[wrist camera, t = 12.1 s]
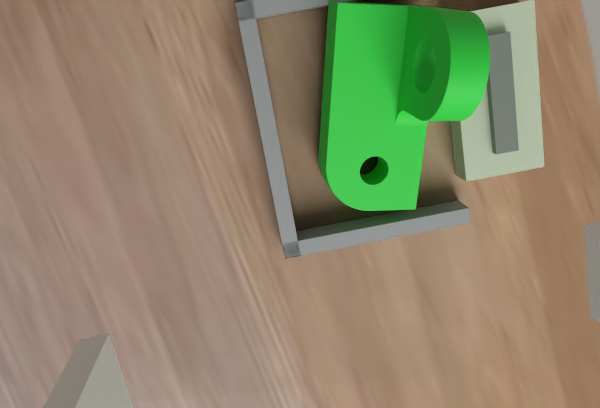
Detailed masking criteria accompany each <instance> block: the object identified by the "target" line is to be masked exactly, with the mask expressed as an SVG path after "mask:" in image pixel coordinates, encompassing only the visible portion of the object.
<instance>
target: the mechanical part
mask: <svg viewBox="0 0 600 408" xmlns="http://www.w3.org/2000/svg"><path fill="white" fill-rule="evenodd" d="M489 69H490V46H489V39H488V35H487V31H486V28H485V26H484V24H483V22H482V20H481V19H480V17H479V16H478V15H477V14H475V13H473V12H470V11H462V10H455V9H447V8H440V7H433V6H420V5H398V4H377V3H356V2H335V1H329V3H328V18H327V33H326V49H325V64H324V79H323V94H322V110H321V125H320V140H319V156H318V161H319V168H320V171H321V174H322V176H323V178H324V180H325V182H326V183H327V185H328V186H329V187H330V189H331V190H332V192H333V193H334V194H335V196H336V197H337V198H338V199H339V200H340V201H341V202H343V203H344V204H346V205H347V206H349V207H351V208H354V209H358V210H363V211H383V210H416V204H417V196H418V189H419V182H420V174H421V167H422V159H423V152H424V144H425V137H426V130H427V123H428V121H463V120H466V119H467V118H469V117H470V116H471V115H472V114H473V113H474V112H475V110H476V109H477V107H478V106H479V104H480V102H481V100H482V97H483V95H484V92H485V89H486V85H487V81H488V77H489ZM375 156H377V157H378V162H377V165H376V167H375V169H374V170H373V171H371V172H370V173H368V174H360V168H361V166H362V164H363V163H364V161H365V160H367V159H368V158H370V157H375Z"/></svg>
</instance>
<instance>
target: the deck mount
mask: <svg viewBox="0 0 600 408" xmlns="http://www.w3.org/2000/svg"><path fill="white" fill-rule="evenodd" d="M329 1H335V2H356V1H361V0H247V1H241V2H236V3H235V7H236V12H237V17H238V22H239V27H240V32H241V37H242V42H243V47H244V52H245V57H246V63H247V68H248V73H249V78H250V83H251V88H252V93H253V98H254V103H255V108H256V114H257V119H258V124H259V129H260V134H261V139H262V144H263V149H264V154H265V159H266V164H267V170H268V175H269V180H270V185H271V190H272V195H273V200H274V205H275V210H276V215H277V220H278V226H279V231H280V236H281V241H282V246H283V251H284V256H285V259H286V258H292V257H297V256H302V255H307V254H312V253H318V252H323V251H328V250H333V249H338V248H343V247H349V246H354V245H359V244H364V243H369V242H374V241H380V240H385V239H390V238H395V237H400V236H406V235H411V234H416V233H421V232H426V231H431V230H437V229H442V228H447V227H452V226H457V225H462V224H468V223H470V213H469V208H468V207H467V206H466V205H464V204H463V203H462V202H460V201H459V200H456V201H450V202H445V203H440V204H435V205H430V206H424V207H419V208H416V210H404V211H398V212H393V213H388V214H383V215H378V216H372V217H367V218H362V219H357V220H352V221H346V222H341V223H336V224H331V225H325V226H320V227H315V228H310V229H305V230H299V231H296V229H295V223H294V218H293V213H292V207H291V202H290V197H289V191H288V186H287V181H286V175H285V170H284V165H283V160H282V154H281V149H280V144H279V138H278V133H277V128H276V122H275V117H274V112H273V106H272V101H271V96H270V90H269V85H268V80H267V74H266V69H265V64H264V59H263V53H262V48H261V43H260V37H259V32H258V27H257V21H256V20H257V19H262V18H268V17H273V16H279V15H284V14H290V13H295V12H301V11H306V10H312V9H317V8H323V7H328V3H329ZM470 12H473V13H475V14H477V15H478V16H479V17H480V19H481V20H482V22H483V24H484V26H485V28H486V31H487V35H488V39H489V46H490V69H489V77H488V81H487V85H486V89H485V92H484V95H483V97H482V100H481V102H480V104H479V106H478V107H477V109H476V110H475V112H474V113H473V114H472V115H471V116H470V117H469V118H467V119H466V120H463V121H450V126H451V135H452V145H453V155H454V164H455V174H456V175H457V176H458V177H460V178H462V179H463V180H465V181H466V182H467V181H472V180H477V179H482V178H488V177H493V176H498V175H503V174H508V173H514V172H519V171H524V170H529V169H535V168H540V167H544V152H543V136H542V119H541V103H540V86H539V70H538V53H537V37H536V20H535V4H534V0H530V1H524V2H518V3H513V4H507V5H502V6H496V7H491V8H485V9H480V10H475V11H470Z"/></svg>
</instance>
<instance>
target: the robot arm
mask: <svg viewBox="0 0 600 408" xmlns="http://www.w3.org/2000/svg"><path fill="white" fill-rule="evenodd" d="M585 242H586V259H587V275H588V291H589V307H590V315H591V316H592V317H593V318H594V319H596V320H597V321H598V322H600V222H598V223H593V224H589V225H585ZM43 408H133V406H132V403H131V400H130V397H129V394H128V391H127V387H126V384H125V381H124V378H123V375H122V372H121V369H120V366H119V363H118V360H117V356H116V353H115V350H114V347H113V344H112V341H111V338H110V335H109V333H107V334H103V335H99V336H94V337H90V338H85V339H81V340H80V341H79V343H78V344H77V346H76V348H75V350H74V352H73V354H72V355H71V357H70V359H69V361H68V363H67V365H66V366H65V368H64V370H63V372H62V374H61V375H60V377H59V379H58V381H57V383H56V385H55V386H54V388H53V390H52V392H51V394H50V396H49V397H48V399H47V401H46V403H45V405H44V407H43Z"/></svg>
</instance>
